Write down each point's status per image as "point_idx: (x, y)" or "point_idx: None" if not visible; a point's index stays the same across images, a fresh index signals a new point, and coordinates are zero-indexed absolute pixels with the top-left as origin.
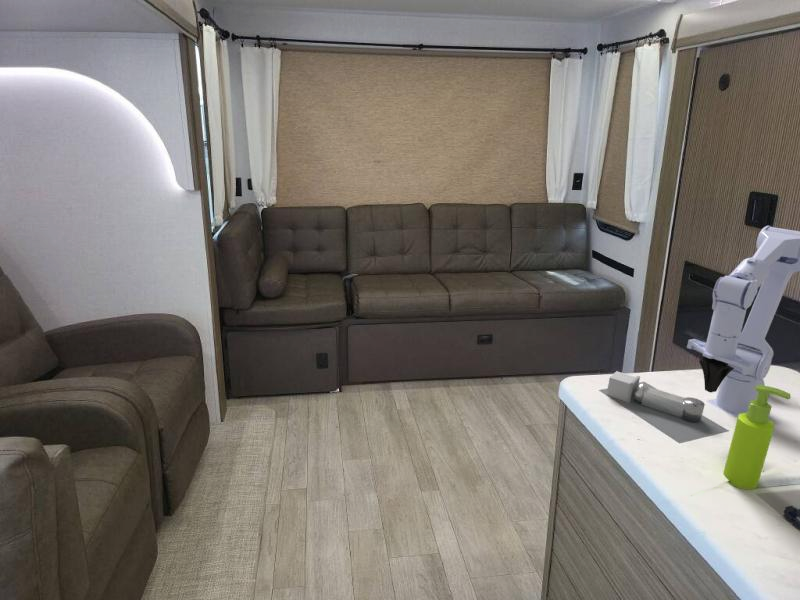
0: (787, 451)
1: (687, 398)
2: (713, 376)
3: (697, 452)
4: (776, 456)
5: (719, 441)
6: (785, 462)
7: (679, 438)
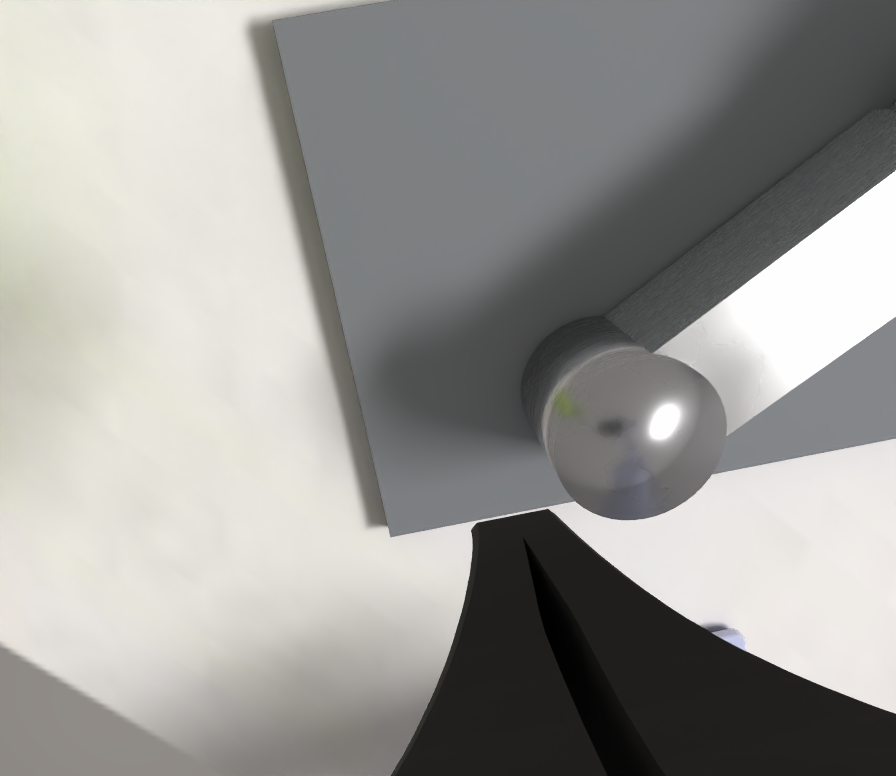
0: (163, 711)
1: (708, 428)
2: (468, 697)
3: (168, 119)
4: (110, 623)
5: (302, 399)
6: (43, 629)
7: (340, 78)
